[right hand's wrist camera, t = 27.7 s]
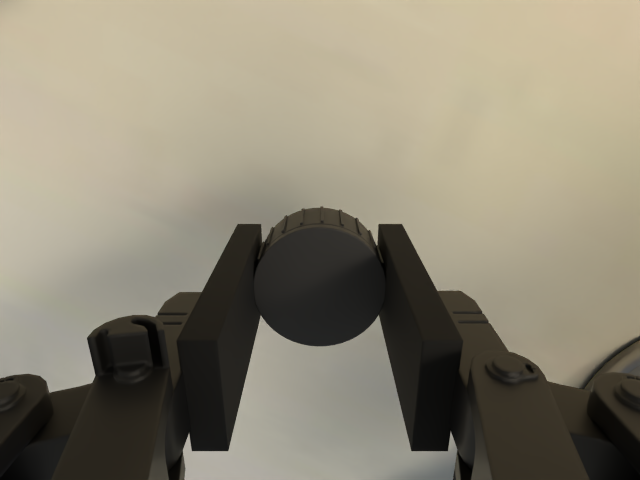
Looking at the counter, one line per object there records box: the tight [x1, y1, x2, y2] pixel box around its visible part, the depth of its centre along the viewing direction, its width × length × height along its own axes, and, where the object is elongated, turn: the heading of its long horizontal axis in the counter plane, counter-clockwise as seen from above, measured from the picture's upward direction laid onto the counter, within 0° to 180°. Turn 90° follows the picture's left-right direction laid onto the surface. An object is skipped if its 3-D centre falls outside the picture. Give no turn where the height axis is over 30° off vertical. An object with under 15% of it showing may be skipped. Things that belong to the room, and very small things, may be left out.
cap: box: [254, 207, 386, 346], centre depth 14 cm, size 4×4×2 cm
